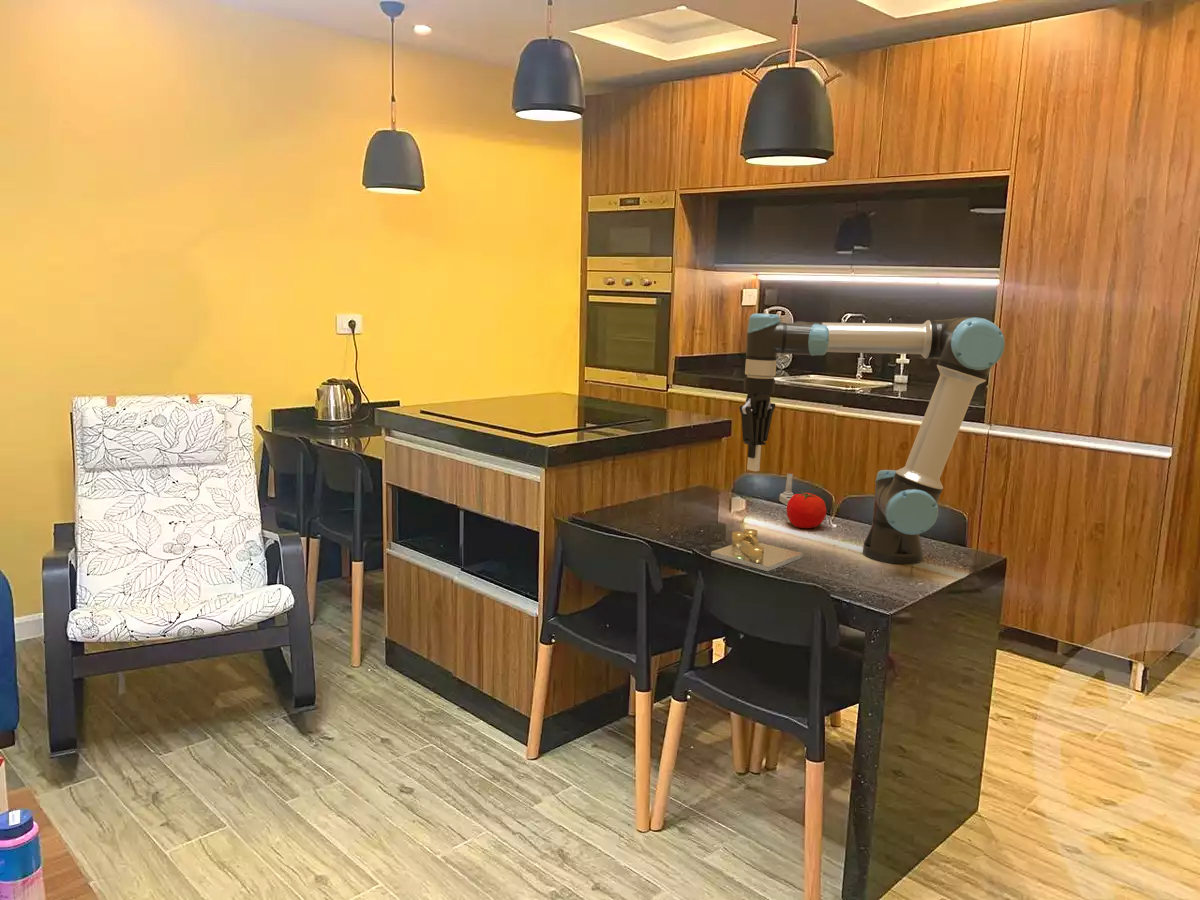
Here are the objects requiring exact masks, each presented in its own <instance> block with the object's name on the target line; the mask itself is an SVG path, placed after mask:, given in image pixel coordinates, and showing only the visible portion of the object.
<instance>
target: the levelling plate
mask: <svg viewBox="0 0 1200 900" xmlns="http://www.w3.org/2000/svg"><path fill="white" fill-rule="evenodd" d="M742 541H746V533H745V532H744V531H737V530H736V531H732V533H731V544H730V545H726V546H724V547H720V548H718V549H714V550H712V551H710V556H711V557H713V558H717V559H721V560H724V561H728V562H730V563H731V562H732V563H736V564H740V565H742V566H746V567H747V566H748V567H750V568H754V569H758V570H762V571H765V572H770V571H773V570H775V569H778V568H780V567H783V566H785V565H787V564H790V563H792V562H795V561H797V560H801V559H803V556H804V554H803V552H798V551H794V550H791V549H786V548H783V547H778V546H776V545H771V544H770V545H769V544H768V543H767V544H766V543H763V542H759V546H761V547H763V548H764V557H763V562H761V563H755V562H751V561H749V556H748V555H746V554H745V553H744V552H742V551H741V545H742Z"/></svg>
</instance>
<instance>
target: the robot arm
mask: <svg viewBox="0 0 1200 900" xmlns="http://www.w3.org/2000/svg"><path fill="white" fill-rule="evenodd" d="M780 318H781V317H780V315H779V314H774V313H752V314H751V315H750V316H749V317H748V325H747V334H746V349H745V351H746V352H745V353H746V354H745V363H744V364H745V368H744V369H745V370H744V374H745V375H746V376H745V377H744V379H743V391H744V392H745V393H746V394H747V395H746V399H745V404H743V405H739V412H740V414H741V417H740V418H741V428H742V429H741V430H742V441H743V443H744V444H745V445H747V446H748V448H747V463H746V464H747V466H746V470H747V471H752V472H759V471H760V470H761V469H760V467H761V455H762V446H766V444H767V441H768V438H769V433H770V428H771V422H772V418H773V413H774V411H775V408H776V403H772V402H771V396H770V395H771V394H773V393H775V386H776V385H775V384H776V379H775V378H774V377H776V374H777V356H778V354H782V355H783V354H785V355H786V354H789V355H801V356H803V355H804V356H811V357H814V356H824V355H826V353H856V354H857V353H858V354H864V353H865V354H866V353H867V354H892V355H893V354H897V355H921V356H922V357H923V358H924V359H934V360H938V362H937V364H936V367H937V369H938V372H939V377H938V380H937V383H936V386H935V387H934V389H933V390H934V391H933V392H932V395H931V398H930V400H929V402H928V406H927V408H926V411H925V413H924V417H923V419H922V421H921V424H920V427H919V429H918V431H917V434H916V437H915V439H914V442H913V445H912V447H911V449H910V452H909V454H908V457H907V460H906V462H905V465H904V466H903V467H901V468H899V469H880V470H878V472H877V473H876V479H875V480H874V483H875V489H874V499H873V510H872V511H873V513H872V520H871V521H872V522H871V526H870V528H869V531H868V534H867V535H866V536H865V537H866V538H865V540H864V541H863V547H862V553H863V555H864V556H866V557H868V558H869V559H872V560H876V561H878V562H879V561H880V562H884V563H891V564H899V565H901V564H902V565H903V564H905V565H906V564H908V565H909V564H917V563H920V562H921V561H923V556H924V555H923V554H924V550H923V545H922V541H921V537H920V534H923V533H925V532H928V530H930V529H931V528H932V527H933V526H934V524H935V523H936V522H937V520H938V517H939V506H938V502H939V500H940V497H941V495H942V492H943V489H944V486H943V484H942V481H941V480H940V479H941V477H942V475H943V472H944V470H945V466H946V463H947V461H948V460H949V457H950V453H951V451H952V449H953V447H954V443H955V441H956V440H957V436H958V434H959V431H960V428H961V426H962V424H963V421H964V418H965V416H966V414H967V410H968V409H969V406H970V403H971V402H972V398H973V396H974V393H975V391H976V388H977V386H979V385H980V384H983V383H985V382H987V380H988V376H989V374H990V372H991V369H992V367H993V366H994V365H996V364H997V363H998V362H999V361H1000V359H1001V358H1002V356H1003V354H1004V351H1005V346H1006V344H1005V343H1006V342H1005V336H1004V334H1003V332H1002V329H1000V327H998V325H996V324H995V323H993V322H992V321H991V320H988V319H986V318H985V317H983V318H981V317H975V316H974V317H968V316H961V317H955V318H948V319H947V318H946V319H927V320H926V321H925V322H924V323H885V322H884V323H879V322H878V323H877V322H876V323H874V322H873V323H871V322H867V323H866V322H814V321H813V322H810V321H809V322H807V321H801V320H800V321H794V322H791V323H790V322H789V323H787V322H781V319H780Z"/></svg>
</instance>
